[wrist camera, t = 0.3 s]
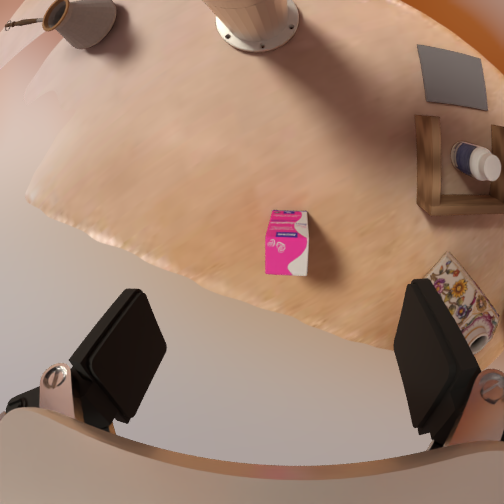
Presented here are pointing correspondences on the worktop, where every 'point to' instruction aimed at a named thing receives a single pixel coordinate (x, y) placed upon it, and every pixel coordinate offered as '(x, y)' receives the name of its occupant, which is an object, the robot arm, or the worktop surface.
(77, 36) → the coffee pot
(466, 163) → the pill bottle
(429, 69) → the mat
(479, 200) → the open box
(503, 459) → the robot arm
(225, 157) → the worktop surface
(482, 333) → the decorative jar
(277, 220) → the supplement box
